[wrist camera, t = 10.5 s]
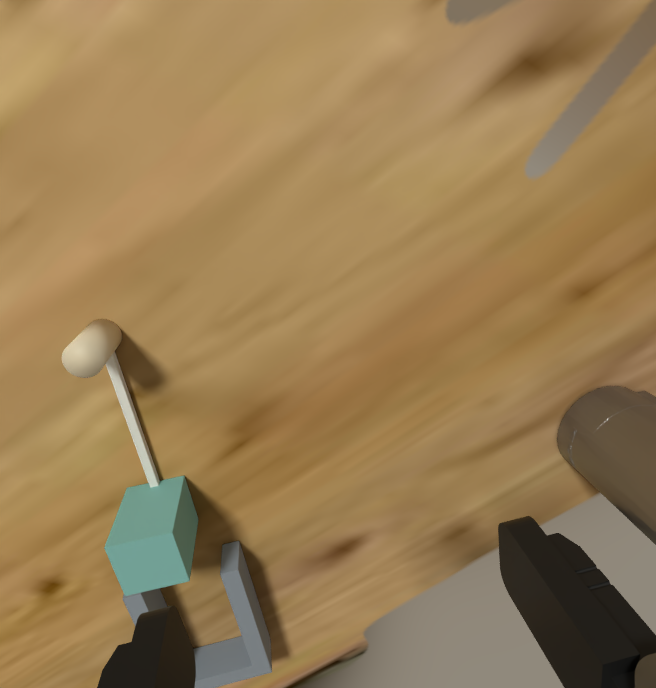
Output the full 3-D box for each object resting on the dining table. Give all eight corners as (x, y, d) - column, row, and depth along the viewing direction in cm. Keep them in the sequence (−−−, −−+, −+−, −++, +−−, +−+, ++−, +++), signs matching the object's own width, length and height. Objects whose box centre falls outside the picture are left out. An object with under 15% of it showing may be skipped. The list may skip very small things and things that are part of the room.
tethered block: (131, 313, 36) (105, 345, 30) (198, 519, 44) (189, 581, 37) (64, 325, 36) (23, 361, 29) (143, 531, 44) (125, 596, 37)
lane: (239, 540, 45) (238, 569, 42) (270, 639, 51) (271, 672, 48) (131, 567, 45) (122, 598, 42) (175, 664, 50) (169, 699, 47)
